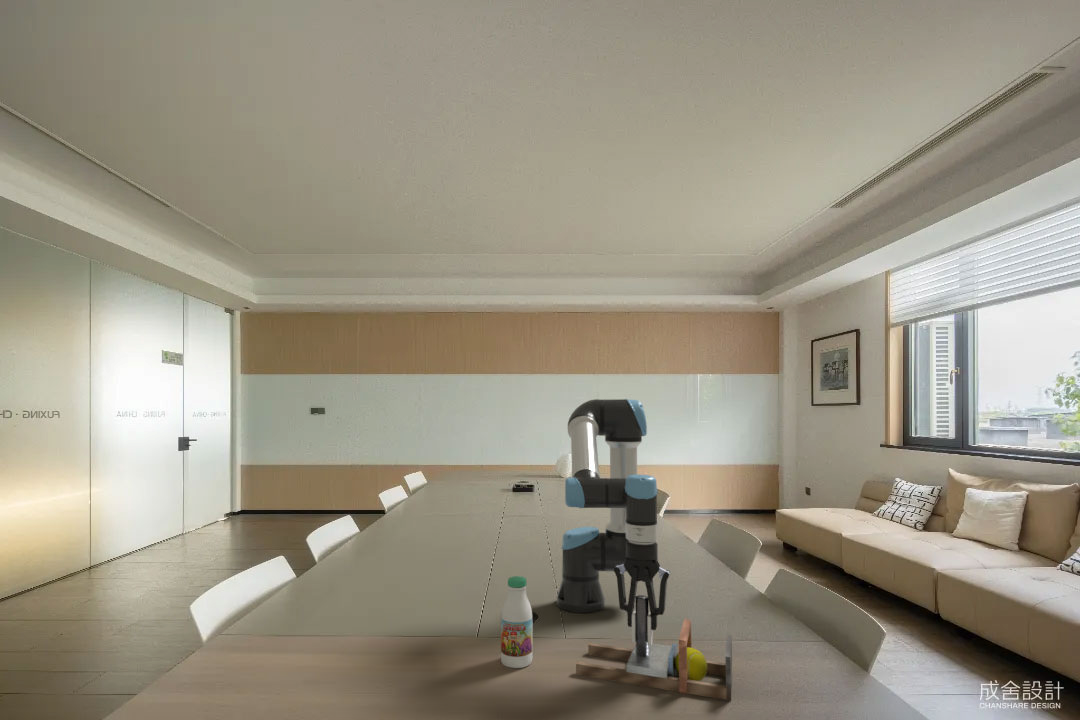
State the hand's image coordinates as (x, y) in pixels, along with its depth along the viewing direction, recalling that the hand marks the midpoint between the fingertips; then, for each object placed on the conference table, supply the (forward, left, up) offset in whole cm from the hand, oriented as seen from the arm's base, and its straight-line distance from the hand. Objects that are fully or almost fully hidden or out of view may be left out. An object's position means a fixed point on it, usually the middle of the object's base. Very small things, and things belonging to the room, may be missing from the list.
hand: (642, 641), depth 134 cm
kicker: (+2, 0, -7) cm, 7 cm away
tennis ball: (+11, 0, -7) cm, 13 cm away
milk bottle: (-30, -5, -7) cm, 31 cm away
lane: (+3, 0, -7) cm, 8 cm away
